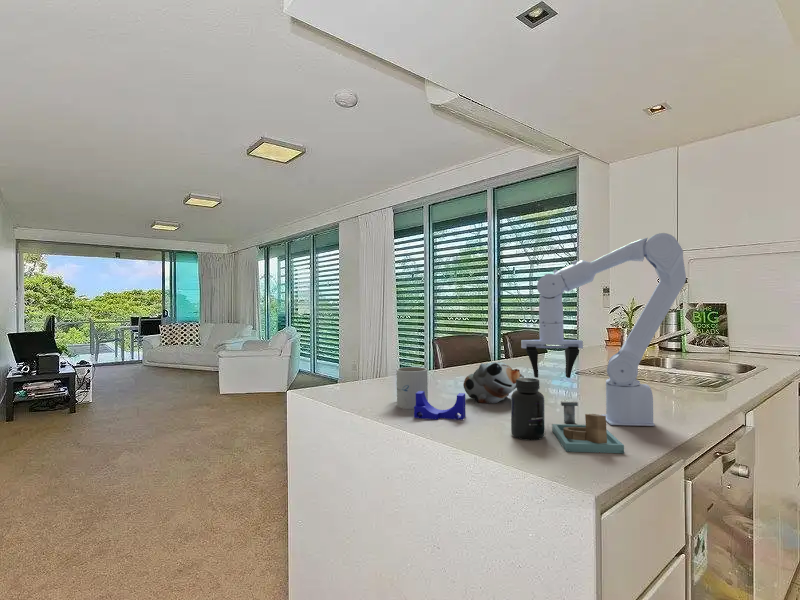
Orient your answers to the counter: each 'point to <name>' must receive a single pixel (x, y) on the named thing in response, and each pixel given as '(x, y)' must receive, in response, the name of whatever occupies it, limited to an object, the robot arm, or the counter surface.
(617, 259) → the robot arm
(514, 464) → the counter surface
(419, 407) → the blue curved cradle
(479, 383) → the lucky cat figurine
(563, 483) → the counter surface
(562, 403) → the grey cylinder and bar
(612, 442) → the tray
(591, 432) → the ring
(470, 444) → the counter surface
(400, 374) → the mug
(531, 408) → the supplement bottle
